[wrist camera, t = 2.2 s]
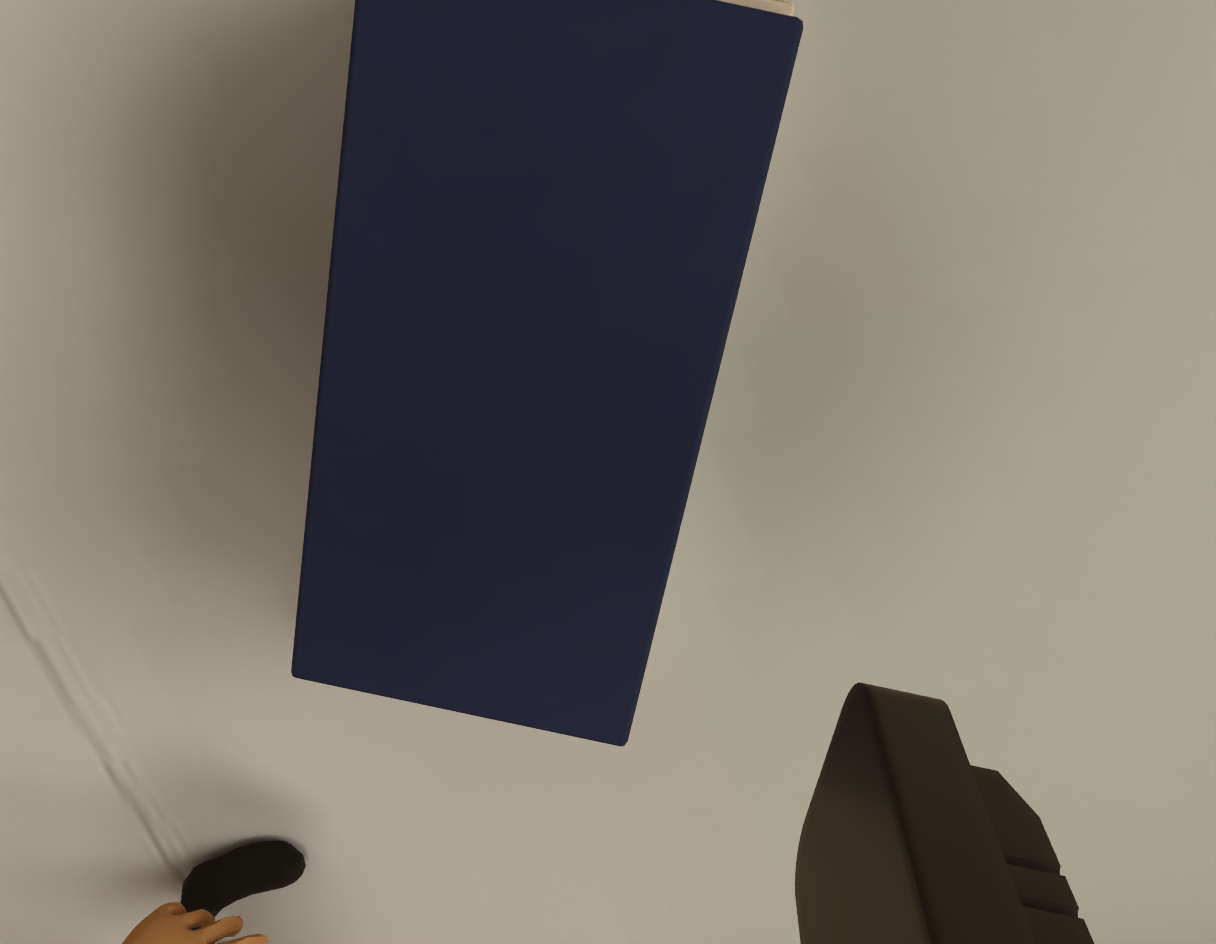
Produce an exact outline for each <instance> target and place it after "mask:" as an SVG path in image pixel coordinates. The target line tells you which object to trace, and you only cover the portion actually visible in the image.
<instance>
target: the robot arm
mask: <svg viewBox="0 0 1216 944" xmlns="http://www.w3.org/2000/svg"><path fill="white" fill-rule="evenodd" d="M1060 867H1061V866H1060V864H1059V861H1058V859H1057V857H1056V854H1055V852H1054V850H1053V847H1052V845H1051V843H1050V840H1049V838H1048V836H1047V834H1046V831H1045V829H1044V827H1043V824H1042V822H1041V820H1040V817H1039V816H1038V815H1037V814H1036V813H1035V812H1034V811H1033V810H1032V808H1031V807H1030V806H1029V805H1028V804H1027V803H1026V802H1025V801H1024V800H1023V799H1022V797H1021V796H1020V795H1019V794H1018V793H1017V792H1016V791H1015V790H1014V789H1013V788H1012V786H1011V785H1010V784H1009V783H1008V782H1007V781H1006V780H1005V779H1004V778H1003V777H1002V775H1001V774H1000V773H999V772H998V771H995V770H990V769H986V768H981V767H976V766H972V765H970V763H969V761H968V758H967V755H966V753H965V750H964V747H963V745H962V742H961V739H960V736H959V734H958V731H957V728H956V726H955V723H954V720H953V717H952V715H951V712H950V710H949V708H948V705H947V704H946V703H945V702H944V701H942V700H940V699H935V698H931V697H926V696H921V695H916V694H912V693H907V692H902V691H898V690H893V689H888V688H883V687H879V686H874V685H869V684H864V683H857V684H855V685H854V686H853V687H852V688H851V690H850V692H849V693H848V695H847V698H846V700H845V702H844V705H843V708H842V710H841V713H840V716H839V719H838V722H837V725H836V728H835V731H834V734H833V737H832V740H831V743H830V746H829V749H828V752H827V755H826V758H825V761H824V764H823V767H822V770H821V773H820V776H819V779H818V782H817V785H816V788H815V791H814V794H813V797H812V800H811V803H810V806H809V809H808V812H807V815H806V818H805V821H804V824H803V828H802V832H801V836H800V841H799V847H798V853H797V861H796V873H795V896H796V906H797V915H798V924H799V932H800V941H801V944H1094V942H1093V940H1092V937H1091V935H1090V933H1089V931H1088V928H1087V926H1086V924H1085V921H1084V919H1081V918H1078V909H1079V907H1078V905H1077V903H1076V901H1075V898H1074V896H1073V894H1072V891H1071V889H1070V887H1069V884H1068V882H1067V880H1066V877H1065V876H1062V875H1060Z"/></svg>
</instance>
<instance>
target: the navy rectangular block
mask: <svg viewBox="0 0 1216 944" xmlns="http://www.w3.org/2000/svg"><path fill="white" fill-rule="evenodd" d="M793 12H794V5H792V4H791V3H787V2H782V1H778V0H355V9H354V20H353V30H352V41H351V51H350V62H349V72H348V82H347V93H346V103H345V114H344V124H343V135H342V145H341V156H340V166H339V177H338V187H337V198H336V208H335V219H334V229H333V239H332V250H331V260H330V271H329V281H328V292H327V302H326V313H325V323H324V334H323V344H322V355H321V365H320V376H319V386H318V397H317V407H316V417H315V428H314V438H313V449H312V459H311V470H310V480H309V491H308V501H307V512H306V522H305V533H304V543H303V554H302V564H301V574H300V585H299V595H298V606H297V616H296V627H295V637H294V648H293V658H292V669H291V671H292V676H294V677H295V678H300V679H304V680H309V681H314V682H319V683H323V684H328V685H333V686H338V687H342V688H347V689H352V690H356V691H361V692H366V693H371V694H375V695H380V696H385V697H390V698H394V699H399V700H404V701H409V702H413V703H418V704H423V705H427V706H432V707H437V708H442V709H446V710H451V711H456V712H461V713H465V714H470V715H475V716H480V717H484V718H489V719H494V720H498V721H503V722H508V723H513V724H517V725H522V726H527V727H532V728H536V729H541V730H546V731H551V732H555V733H560V734H565V735H569V736H574V737H579V738H584V739H588V740H593V741H598V742H603V743H607V744H612V745H617V746H624V745H625V744H626V743H627V741H628V737H629V733H630V729H631V725H632V721H633V717H634V713H635V709H636V705H637V701H638V697H639V693H640V689H641V685H642V681H643V677H644V672H645V668H646V664H647V660H648V656H649V652H650V648H651V644H652V640H653V636H654V632H655V628H656V624H657V620H658V616H659V612H660V608H661V603H662V599H663V595H664V591H665V587H666V583H667V579H668V575H669V571H670V567H671V563H672V559H673V555H674V551H675V547H676V543H677V538H678V534H679V530H680V526H681V522H682V518H683V514H684V510H685V506H686V502H687V498H688V494H689V490H690V486H691V482H692V478H693V474H694V469H695V465H696V461H697V457H698V453H699V449H700V445H701V441H702V437H703V433H704V429H705V425H706V421H707V417H708V413H709V409H710V404H711V400H712V396H713V392H714V388H715V384H716V380H717V376H718V372H719V368H720V364H721V360H722V356H723V352H724V348H725V344H726V339H727V335H728V331H729V327H730V323H731V319H732V315H733V311H734V307H735V303H736V299H737V295H738V291H739V287H740V283H741V279H742V275H743V270H744V266H745V262H746V258H747V254H748V250H749V246H750V242H751V238H752V234H753V230H754V226H755V222H756V218H757V214H758V210H759V205H760V201H761V197H762V193H763V189H764V185H765V181H766V177H767V173H768V169H769V165H770V161H771V157H772V153H773V149H774V145H775V141H776V136H777V132H778V128H779V124H780V120H781V116H782V112H783V108H784V104H785V100H786V96H787V92H788V88H789V84H790V80H791V76H792V71H793V67H794V63H795V59H796V55H797V51H798V47H799V43H800V39H801V35H802V31H803V22H802V21H801V20H800V19H799V18H797V17H793Z"/></svg>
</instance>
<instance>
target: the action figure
mask: <svg viewBox="0 0 1216 944" xmlns="http://www.w3.org/2000/svg"><path fill="white" fill-rule="evenodd" d="M305 866H306V865H305V861H304V857H303V854H302V853H300V852H299V851H298V850H297V849H296V848H295V847H293V846H292V845H291V844H288V843H286V842H284V841H271V842H263V843H256V844H251V845H247V846H244V847H240V848H237V849H235V850H233V851H231V852H228V853H226V854H224V855H222V856H220V857H217V858H215V859H213V860H210V861H207V862H204V863H202V864H200V865H198V866H196V867H194V868H193V869H192V871H191V873H190V874H189V875H188V877H187V878H186V880H185V881H184V883H183V887H182V896H181V903H179V902H171V903H167V904H164V905H162V906H160V907H159V908H157V909H156V910H155V911H153V912H152V913H151V914H150V915H148V916H147V917H146V918H145V919H143V920H142V921H141V922H140V923H139V924H138V925H137V926H136V927H135V928H134V929H133V930H132V932H131V933H130V934H129V935H128V936H127V938H126V939H125V940H124V942H123V943H122V944H214V943H215V942H217V941H218V940H220V939H222V938H223V937H234V936H235V935H236V934H238V933H239V932H240V930H241V928H242V926H243V920H242V919H241V917H240V916H231V917H225V918H223V919H221V920H218V921H215V918H214V917H215V916H216V915H217V914H218V913H219V912H220V911H221V910H222V909H223V908H224V907H226V906H228V905H229V904H231V903H233V902H235V901H237V900H239V899H242V898H244V897H247V896H249V895H252V894H256V893H261V892H266V891H270V890H275V889H279V888H283V887H286V886H288V885H290V884H292V883H294V882H295V881H296V880H297V879H299V878H300V877H301V876H302V874H303V872H304V869H305ZM267 942H268V939H267V936H265V935H261V934H255V935H249V936H245V937H242V938H238V939H234V940H230V941H227V942H222V943H218V944H267Z"/></svg>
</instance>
